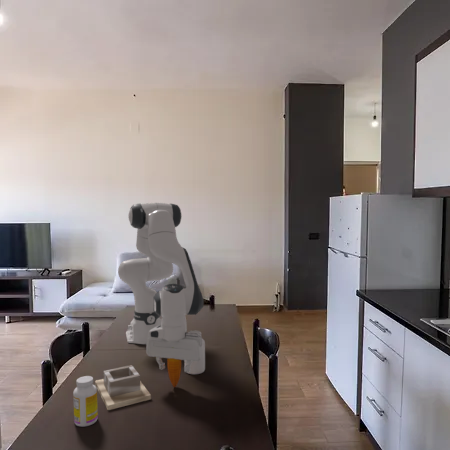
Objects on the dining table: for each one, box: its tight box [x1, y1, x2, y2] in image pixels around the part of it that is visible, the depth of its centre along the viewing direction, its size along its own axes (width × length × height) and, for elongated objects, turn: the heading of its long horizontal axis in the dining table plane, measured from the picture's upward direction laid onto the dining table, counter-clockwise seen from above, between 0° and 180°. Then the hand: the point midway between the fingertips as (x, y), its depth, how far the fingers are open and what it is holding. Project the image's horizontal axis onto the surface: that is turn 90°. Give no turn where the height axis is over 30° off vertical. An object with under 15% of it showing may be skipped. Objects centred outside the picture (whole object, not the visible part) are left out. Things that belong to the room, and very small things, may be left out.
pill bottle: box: [184, 330, 206, 375], centre depth 151 cm, size 8×8×15 cm
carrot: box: [166, 347, 182, 388], centre depth 137 cm, size 5×5×15 cm
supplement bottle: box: [72, 375, 99, 427], centre depth 116 cm, size 7×7×13 cm
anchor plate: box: [94, 364, 152, 411], centre depth 134 cm, size 20×14×6 cm
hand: (174, 370), depth 137 cm, fingers open, 8 cm apart
